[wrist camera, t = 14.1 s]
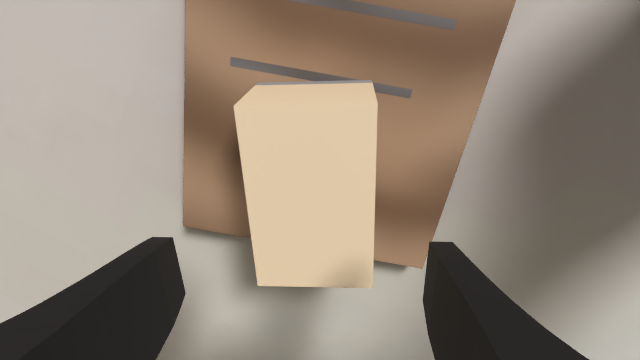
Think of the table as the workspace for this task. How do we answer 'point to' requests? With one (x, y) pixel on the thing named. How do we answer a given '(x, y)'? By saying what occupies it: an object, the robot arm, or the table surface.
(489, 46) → the board
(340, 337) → the table surface
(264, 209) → the block
